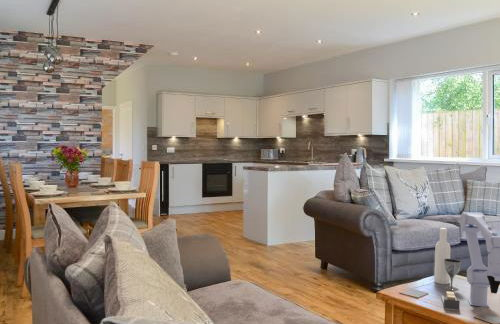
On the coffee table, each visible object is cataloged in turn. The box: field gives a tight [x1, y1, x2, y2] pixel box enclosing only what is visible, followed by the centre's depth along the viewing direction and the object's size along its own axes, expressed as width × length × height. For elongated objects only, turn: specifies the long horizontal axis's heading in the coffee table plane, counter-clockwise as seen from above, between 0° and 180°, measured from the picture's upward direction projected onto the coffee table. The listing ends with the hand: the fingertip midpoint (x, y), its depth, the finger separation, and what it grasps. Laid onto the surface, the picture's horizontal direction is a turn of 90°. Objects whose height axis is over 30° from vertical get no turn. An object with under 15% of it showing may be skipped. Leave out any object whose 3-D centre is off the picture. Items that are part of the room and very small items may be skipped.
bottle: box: [433, 227, 451, 285], centre depth 258 cm, size 8×8×30 cm
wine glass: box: [443, 258, 462, 292], centre depth 247 cm, size 8×8×15 cm
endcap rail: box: [441, 295, 460, 312], centre depth 222 cm, size 16×6×5 cm, turn 162°
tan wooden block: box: [445, 290, 457, 300], centre depth 219 cm, size 9×3×5 cm, turn 162°
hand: (493, 292), depth 208 cm, fingers closed
